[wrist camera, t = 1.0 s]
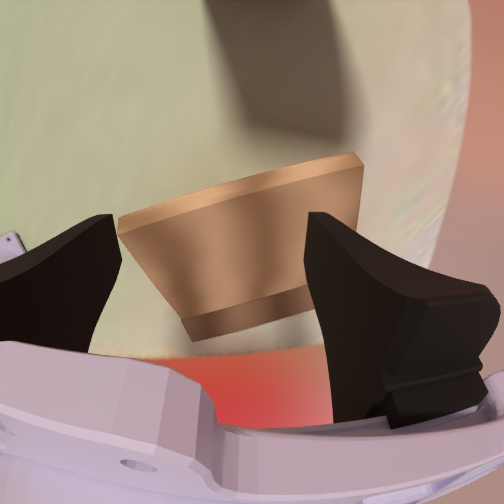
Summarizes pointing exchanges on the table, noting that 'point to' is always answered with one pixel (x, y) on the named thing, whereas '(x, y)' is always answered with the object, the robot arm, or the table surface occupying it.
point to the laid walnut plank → (249, 314)
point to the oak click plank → (240, 233)
